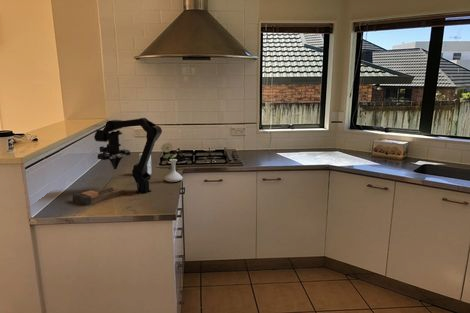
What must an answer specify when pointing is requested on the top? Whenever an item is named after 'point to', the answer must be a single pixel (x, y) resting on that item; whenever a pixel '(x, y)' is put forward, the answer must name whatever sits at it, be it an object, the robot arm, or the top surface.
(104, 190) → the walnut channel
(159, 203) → the top surface
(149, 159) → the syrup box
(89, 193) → the block
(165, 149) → the flower in vase
